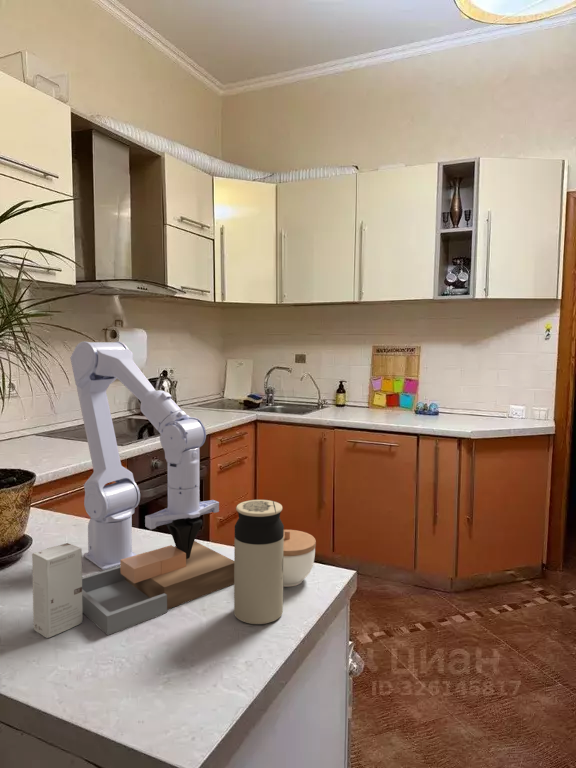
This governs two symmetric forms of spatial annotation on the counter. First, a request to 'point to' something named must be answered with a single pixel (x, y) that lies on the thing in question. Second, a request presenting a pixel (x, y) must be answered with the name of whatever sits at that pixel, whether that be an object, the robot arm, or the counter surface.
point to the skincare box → (57, 589)
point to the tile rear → (170, 558)
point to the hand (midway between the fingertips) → (183, 557)
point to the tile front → (140, 567)
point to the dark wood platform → (191, 577)
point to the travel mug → (258, 562)
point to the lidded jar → (297, 556)
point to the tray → (117, 601)
